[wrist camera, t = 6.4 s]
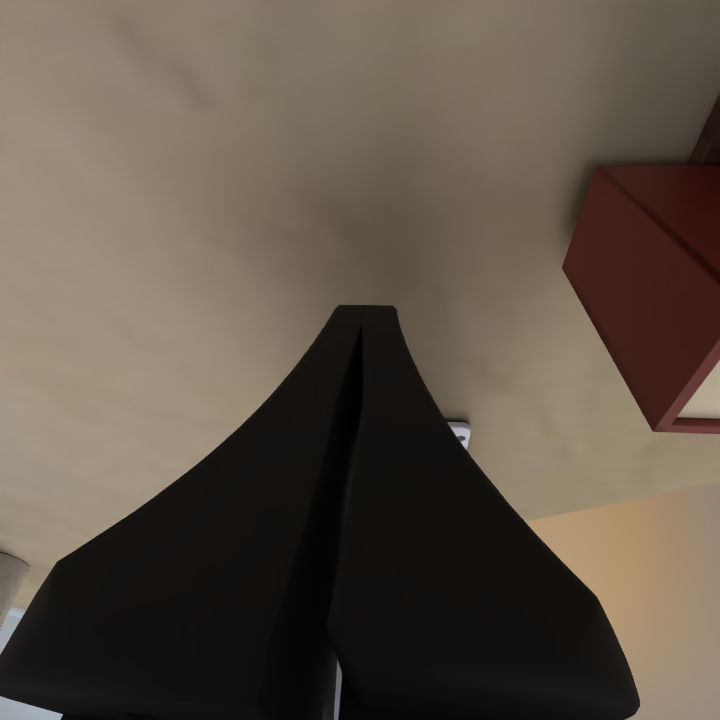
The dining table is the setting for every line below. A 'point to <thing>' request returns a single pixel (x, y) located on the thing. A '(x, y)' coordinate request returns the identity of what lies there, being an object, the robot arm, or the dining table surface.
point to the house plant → (10, 582)
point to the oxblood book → (655, 286)
